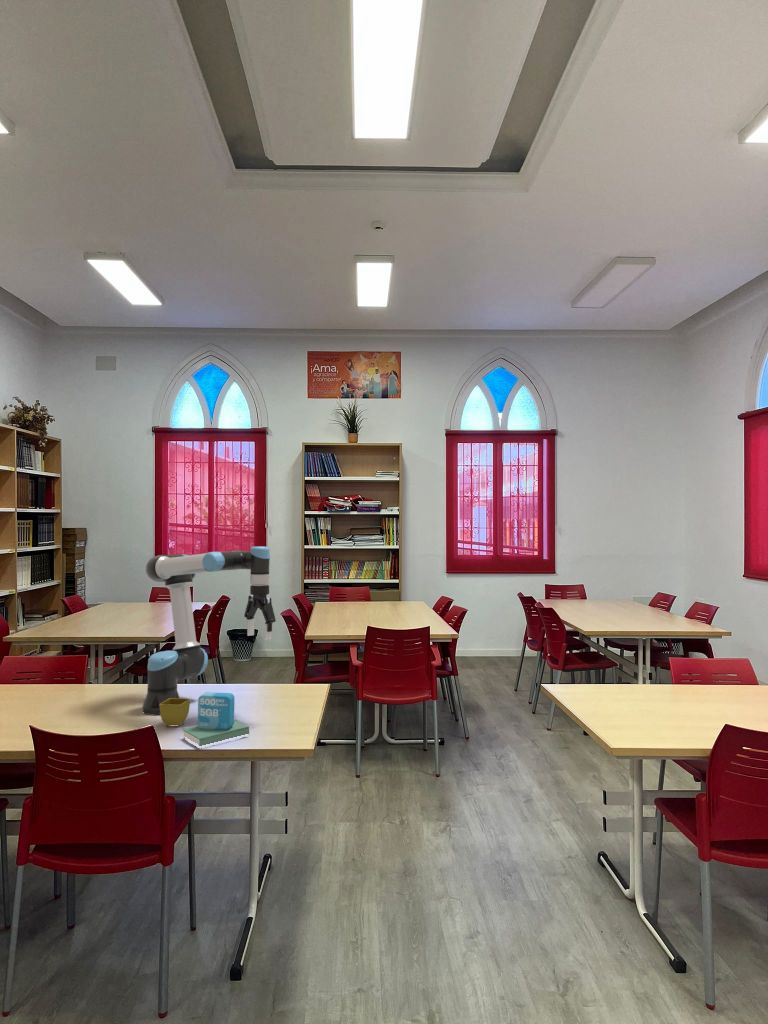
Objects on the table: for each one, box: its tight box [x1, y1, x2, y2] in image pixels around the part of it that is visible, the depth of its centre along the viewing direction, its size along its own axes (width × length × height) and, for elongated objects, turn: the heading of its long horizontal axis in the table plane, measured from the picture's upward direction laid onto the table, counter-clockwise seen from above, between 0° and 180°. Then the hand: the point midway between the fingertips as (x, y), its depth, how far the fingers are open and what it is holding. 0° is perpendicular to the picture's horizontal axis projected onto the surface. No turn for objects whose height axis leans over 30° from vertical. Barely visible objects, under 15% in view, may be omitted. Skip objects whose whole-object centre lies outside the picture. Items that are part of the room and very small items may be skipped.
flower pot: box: [159, 698, 191, 726], centre depth 233 cm, size 9×9×9 cm
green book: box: [182, 719, 250, 746], centre depth 218 cm, size 14×19×4 cm
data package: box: [197, 691, 235, 730], centre depth 219 cm, size 12×4×12 cm, turn 83°
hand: (259, 637), depth 244 cm, fingers open, 13 cm apart
